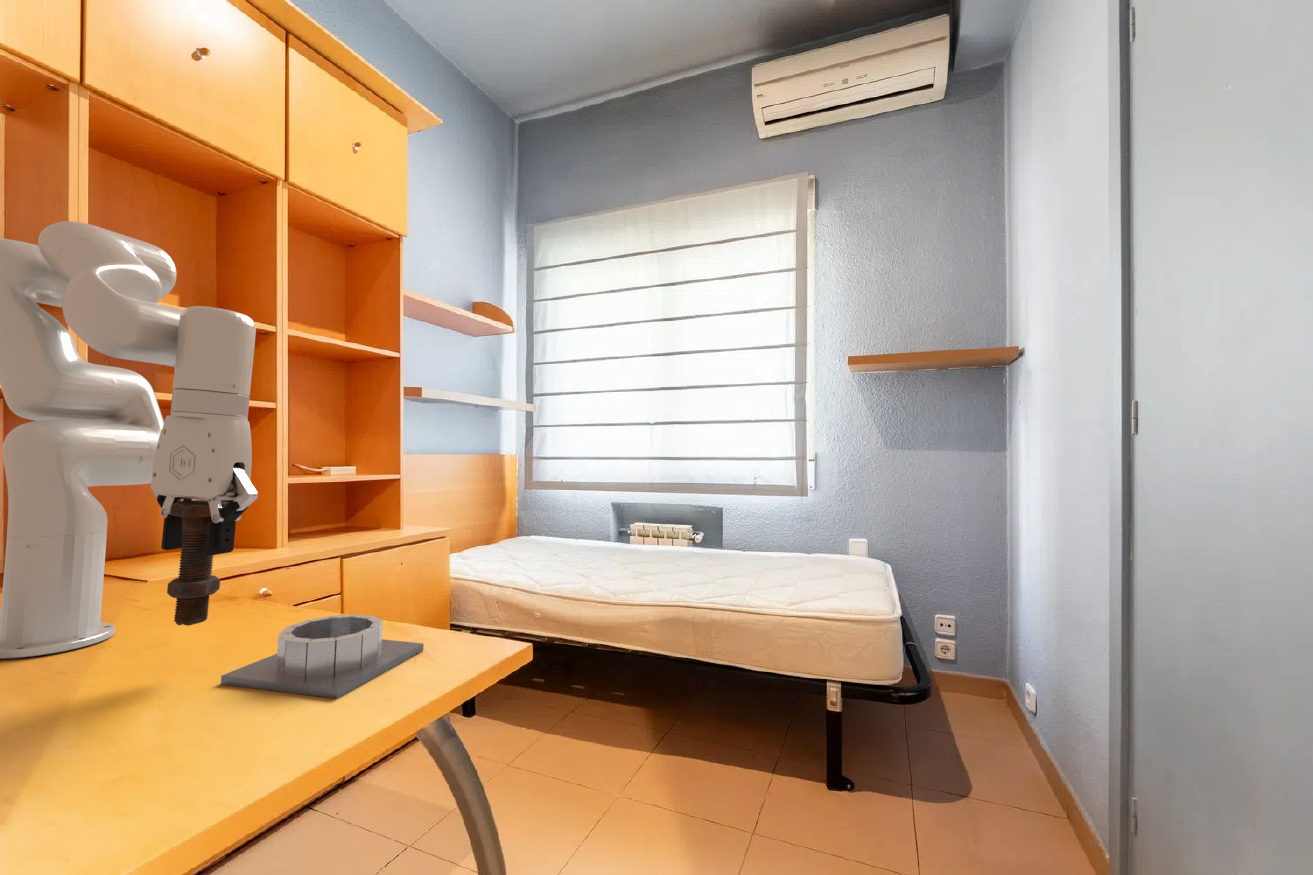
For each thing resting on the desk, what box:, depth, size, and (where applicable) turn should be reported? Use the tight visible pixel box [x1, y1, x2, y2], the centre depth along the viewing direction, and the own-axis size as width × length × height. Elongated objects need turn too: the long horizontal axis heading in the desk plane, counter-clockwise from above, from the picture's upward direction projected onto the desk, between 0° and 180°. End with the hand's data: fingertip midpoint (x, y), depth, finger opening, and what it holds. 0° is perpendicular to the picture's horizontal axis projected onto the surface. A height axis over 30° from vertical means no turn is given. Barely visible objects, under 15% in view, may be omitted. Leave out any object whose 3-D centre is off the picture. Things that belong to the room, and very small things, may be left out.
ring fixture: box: [220, 613, 424, 700], centre depth 70 cm, size 16×16×5 cm
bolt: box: [166, 499, 227, 626], centre depth 67 cm, size 6×5×15 cm
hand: (197, 549), depth 67 cm, fingers closed on bolt, 5 cm apart
